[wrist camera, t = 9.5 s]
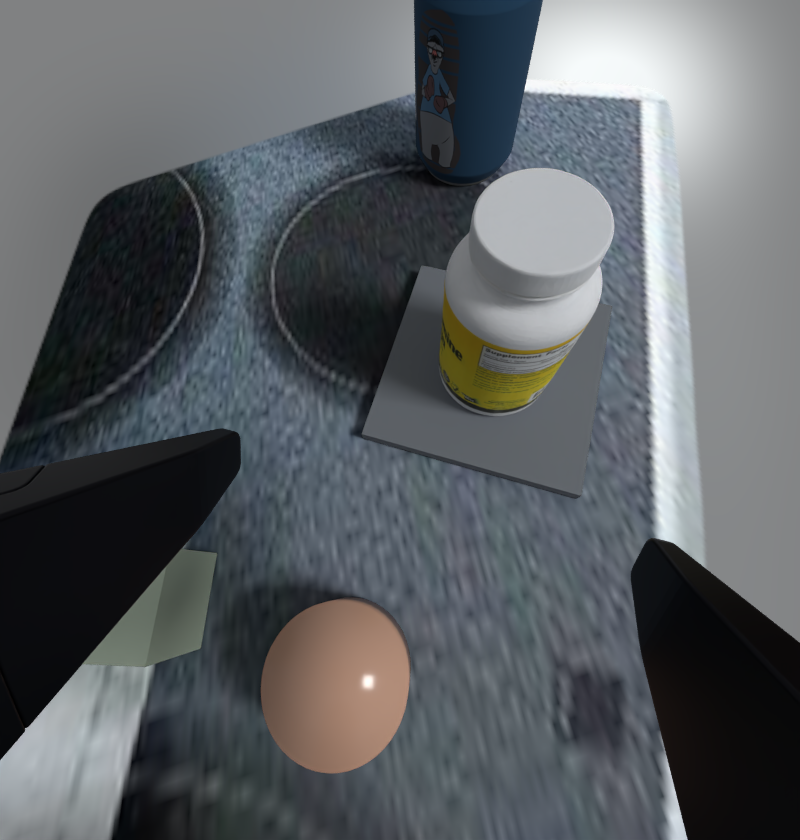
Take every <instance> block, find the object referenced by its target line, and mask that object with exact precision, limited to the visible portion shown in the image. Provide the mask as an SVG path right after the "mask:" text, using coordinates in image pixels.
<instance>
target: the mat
mask: <svg viewBox="0 0 800 840" xmlns="http://www.w3.org/2000/svg"><path fill="white" fill-rule="evenodd" d="M446 272H447V271H446V270H441V269H436V268H431V267H427V266H421V269H420V271H419V274H418V277H417V280H416V283H415V285H414V288H413V291H412V294H411V297H410V299H409V302H408V305H407V308H406V311H405V313H404V316H403V319H402V322H401V325H400V327H399V330H398V333H397V336H396V339H395V341H394V344H393V347H392V350H391V353H390V355H389V358H388V361H387V364H386V367H385V370H384V372H383V375H382V378H381V381H380V384H379V386H378V389H377V392H376V395H375V398H374V400H373V403H372V406H371V409H370V412H369V414H368V417H367V420H366V423H365V426H364V428H363V431H362V436H363V438H364V439H367V440H371V441H374V442H378V443H381V444H385V445H388V446H392V447H395V448H399V449H403V450H406V451H410V452H413V453H417V454H420V455H424V456H427V457H431V458H434V459H438V460H441V461H445V462H448V463H452V464H455V465H459V466H463V467H466V468H470V469H473V470H477V471H480V472H484V473H487V474H491V475H494V476H498V477H501V478H505V479H508V480H512V481H516V482H519V483H523V484H526V485H530V486H533V487H537V488H540V489H544V490H547V491H551V492H554V493H558V494H561V495H565V496H568V497H572V498H578V497H580V496H581V495H582V489H583V483H584V477H585V470H586V464H587V458H588V452H589V446H590V440H591V434H592V427H593V421H594V415H595V409H596V403H597V397H598V390H599V384H600V378H601V372H602V366H603V360H604V354H605V347H606V341H607V335H608V329H609V323H610V317H611V310H612V306H610V305H605V304H600V303H598V306H597V308H596V311H595V313H594V314H593V316H592V318H591V320H590V321H589V323H588V325H587V326H586V328H585V329H584V331H583V332H582V334H581V335H580V337H579V338H578V340H577V341H576V343H575V344H574V346H573V347H572V349H571V350H570V352H569V354H568V355H567V357H566V358H565V360H564V361H563V363H562V364H561V366H560V367H559V369H558V370H557V372H556V373H555V375H554V376H553V378H552V379H551V381H550V382H549V384H548V385H547V386H546V388H545V389H544V391H543V392H542V393H541V395H540V396H539V397H538V398H537V399H536V400H535V401H534V402H533V403H532V404H531V405H530V406H528V407H527V408H525V409H523V410H521V411H519V412H517V413H514V414H510V415H505V416H488V415H482V414H479V413H476V412H473V411H470V410H468V409H466V408H464V407H463V406H461V405H460V404H459V403H457V402H456V401H455V400H454V399H453V398H452V397H451V395H450V394H449V393H448V391H447V390H446V389H445V387H444V384H443V382H442V379H441V376H440V371H439V351H440V341H441V329H442V317H443V302H444V281H445V275H446Z"/></svg>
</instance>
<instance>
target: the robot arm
mask: <svg viewBox="0 0 800 840" xmlns="http://www.w3.org/2000/svg"><path fill="white" fill-rule="evenodd" d="M240 465H241V446H240V436H239V434H238V433H237V432H235V431H231V430H227V429H215V430H210V431H206V432H201V433H196V434H191V435H186V436H181V437H177V438H172V439H167V440H162V441H157V442H152V443H148V444H143V445H138V446H133V447H128V448H123V449H119V450H114V451H109V452H104V453H99V454H94V455H90V456H85V457H80V458H75V459H70V460H65V461H61V462H56V463H51V464H47V465H46V466H43V465H41V466H36V467H31V468H26V469H21V470H16V471H11V472H6V473H1V474H0V760H1V759H2V757H3V756H4V755H5V754H6V753H7V752H8V750H9V749H10V748H11V747H12V746H13V745H14V743H15V742H16V741H17V740H18V739H19V738H20V736H21V735H22V734H23V733H24V732H25V728H27V727H29V726H30V724H31V723H32V722H33V721H34V720H35V719H36V717H37V716H38V715H39V714H40V713H41V712H42V710H43V709H44V708H45V707H46V706H47V705H48V703H49V702H50V701H51V700H52V699H53V698H54V696H55V695H56V694H57V693H58V692H59V691H60V689H61V688H62V687H63V686H64V685H65V684H66V682H67V681H68V680H69V679H70V678H71V677H72V675H73V674H74V673H75V672H76V671H77V670H78V668H79V667H80V666H81V665H82V664H83V663H84V662H85V660H86V659H87V658H88V657H89V656H90V655H91V653H92V652H93V651H94V650H95V649H96V648H97V646H98V645H99V644H100V643H101V642H102V641H103V639H104V638H105V637H106V636H107V635H108V634H109V632H110V631H111V630H112V629H113V628H114V627H115V625H116V624H117V623H118V622H119V621H120V620H121V618H122V617H123V616H124V615H125V614H126V613H127V611H128V610H129V609H130V608H131V607H132V606H133V605H134V603H135V602H136V601H137V600H138V599H139V598H140V596H141V595H142V594H143V593H144V592H145V591H146V589H147V588H148V587H149V586H150V585H151V584H152V582H153V581H154V580H155V579H156V578H157V577H158V575H159V574H160V573H161V572H162V571H163V570H164V568H165V567H166V566H167V565H168V564H169V563H170V561H171V560H172V559H173V558H174V557H175V556H176V554H177V553H178V552H179V551H180V550H181V549H182V547H183V546H184V545H185V544H186V543H187V542H188V541H189V539H190V538H191V537H192V536H193V535H194V534H195V532H196V531H197V530H198V529H199V527H200V526H201V525H202V524H203V522H204V521H205V520H206V518H207V517H208V516H209V514H210V513H211V511H212V510H213V508H214V507H215V506H216V504H217V503H218V501H219V500H220V498H221V497H222V495H223V494H224V492H225V491H226V490H227V488H228V487H229V485H230V484H231V482H232V481H233V479H234V478H235V477H236V475H237V473H238V472H239V469H240ZM631 585H632V592H633V600H634V607H635V615H636V622H637V630H638V637H639V644H640V650H641V654H642V659H643V663H644V667H645V671H646V675H647V679H648V683H649V687H650V691H651V695H652V699H653V703H654V707H655V711H656V715H657V719H658V723H659V727H660V731H661V735H662V739H663V743H664V747H665V751H666V755H667V759H668V763H669V767H670V771H671V775H672V779H673V783H674V787H675V791H676V795H677V799H678V803H679V807H680V811H681V815H682V819H683V823H684V827H685V831H686V835H687V839H688V840H800V643H799V642H798V641H797V640H795V639H794V638H793V637H792V636H791V635H789V634H788V633H787V632H785V631H784V630H783V629H782V628H780V627H779V626H778V625H777V624H775V623H774V622H773V621H772V620H770V619H769V618H768V617H766V616H765V615H764V614H762V613H761V612H760V611H759V610H758V609H756V608H755V607H754V606H753V605H751V604H750V603H749V602H747V601H746V600H745V599H744V598H742V597H741V596H740V595H739V594H737V593H736V592H735V591H733V590H732V589H731V588H730V587H728V586H727V585H726V584H725V583H723V582H722V581H721V580H719V579H718V578H717V577H716V576H714V575H713V574H712V573H711V572H709V571H708V570H707V569H706V568H704V567H703V566H702V565H701V564H699V563H698V562H697V561H695V560H694V559H693V558H692V557H690V556H689V555H688V554H687V553H685V552H684V551H683V550H681V549H680V548H679V547H678V546H676V545H675V544H674V543H671V542H668V541H664V540H660V539H656V538H651V539H649V540H648V541H647V542H646V543H645V545H644V547H643V548H642V550H641V552H640V554H639V556H638V558H637V560H636V562H635V564H634V566H633V568H632V571H631Z"/></svg>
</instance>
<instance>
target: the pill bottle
mask: <svg viewBox="0 0 800 840" xmlns="http://www.w3.org/2000/svg"><path fill="white" fill-rule="evenodd" d="M613 234H614V219H613V214H612V211H611V208H610V206H609V204H608V203H607V201H606V200H605V198H604V197H603V195H602V194H601V193H600V192H599V191H598V190H597V189H596V188H595V187H594V186H592V185H591V184H590V183H588V182H587V181H585V180H583V179H582V178H580V177H578V176H576V175H573V174H570V173H568V172H564V171H561V170H556V169H549V168H530V169H524V170H519V171H515V172H512V173H509V174H506V175H504V176H502V177H501V178H499V179H497V180H496V181H494V182H493V183H492V184H490V185H489V186H488V187H487V188H486V189H485V190H484V191H483V193H482V194H481V195H480V197H479V198H478V200H477V202H476V204H475V207H474V211H473V214H472V220H471V227H470V232H469V233H468V234H467V235H466V236H465V237H464V238H463V239H462V241H461V242H460V243H459V244H458V246H457V247H456V249H455V250H454V252H453V254H452V256H451V258H450V261H449V263H448V267H447V272H446V275H445V281H444V302H443V317H442V329H441V341H440V351H439V371H440V376H441V379H442V382H443V384H444V387H445V389H446V390H447V391H448V393H449V394H450V395H451V397H452V398H453V399H454V400H455V401H456V402H457V403H459V404H460V405H461V406H463V407H464V408H466V409H468V410H470V411H473V412H476V413H479V414H482V415H488V416H505V415H510V414H514V413H517V412H519V411H521V410H523V409H525V408H527V407H528V406H530V405H531V404H532V403H533V402H534V401H535V400H536V399H537V398H538V397H539V396H540V395H541V393H542V392H543V391H544V389H545V388H546V386H547V385H548V384H549V382H550V381H551V379H552V378H553V376H554V375H555V373H556V372H557V370H558V369H559V367H560V366H561V364H562V363H563V361H564V360H565V358H566V357H567V355H568V354H569V352H570V350H571V349H572V347H573V346H574V344H575V343H576V341H577V340H578V338H579V337H580V335H581V334H582V332H583V331H584V329H585V328H586V326H587V325H588V323H589V321H590V320H591V318H592V316H593V314H594V313H595V311H596V308H597V306H598V303H599V300H600V296H601V292H602V273H601V268H600V263H601V261H602V259H603V257H604V256H605V254H606V252H607V250H608V248H609V246H610V244H611V241H612V238H613Z"/></svg>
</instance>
